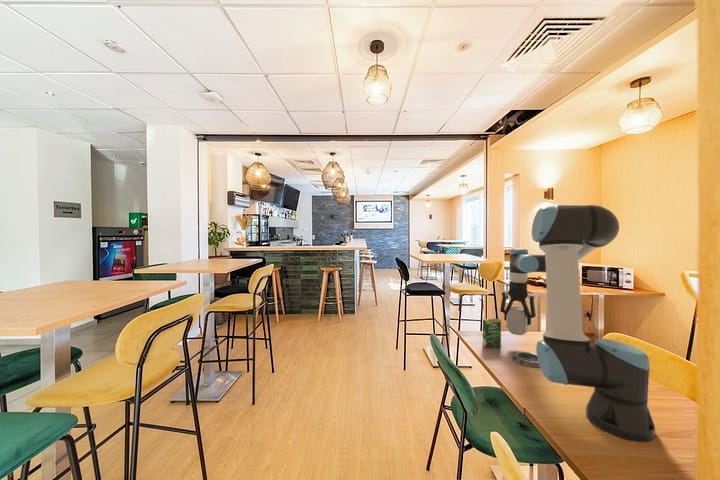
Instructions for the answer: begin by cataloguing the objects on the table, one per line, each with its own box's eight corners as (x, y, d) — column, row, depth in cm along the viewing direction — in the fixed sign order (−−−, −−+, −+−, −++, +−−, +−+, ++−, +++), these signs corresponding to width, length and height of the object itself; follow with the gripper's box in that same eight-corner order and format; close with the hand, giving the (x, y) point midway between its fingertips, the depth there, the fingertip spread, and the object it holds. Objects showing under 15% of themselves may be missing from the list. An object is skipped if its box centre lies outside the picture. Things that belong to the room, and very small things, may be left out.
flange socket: (552, 369, 120) (552, 365, 120) (516, 365, 123) (516, 362, 123) (540, 355, 133) (540, 352, 133) (508, 352, 136) (508, 349, 135)
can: (512, 329, 147) (512, 305, 147) (528, 333, 141) (529, 308, 141) (505, 332, 142) (505, 307, 142) (521, 336, 137) (522, 310, 136)
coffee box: (485, 348, 141) (485, 320, 140) (481, 345, 144) (482, 318, 143) (501, 347, 142) (501, 320, 141) (497, 345, 145) (498, 318, 144)
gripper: (544, 283, 137) (543, 332, 138) (498, 278, 151) (497, 323, 151) (541, 285, 132) (539, 336, 132) (493, 279, 145) (492, 326, 146)
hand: (517, 329), depth 142 cm, fingers closed on can, 7 cm apart
